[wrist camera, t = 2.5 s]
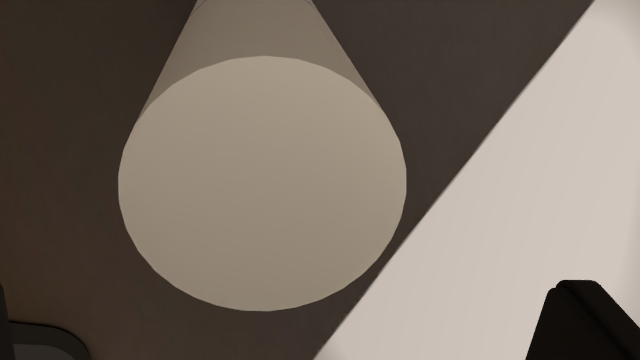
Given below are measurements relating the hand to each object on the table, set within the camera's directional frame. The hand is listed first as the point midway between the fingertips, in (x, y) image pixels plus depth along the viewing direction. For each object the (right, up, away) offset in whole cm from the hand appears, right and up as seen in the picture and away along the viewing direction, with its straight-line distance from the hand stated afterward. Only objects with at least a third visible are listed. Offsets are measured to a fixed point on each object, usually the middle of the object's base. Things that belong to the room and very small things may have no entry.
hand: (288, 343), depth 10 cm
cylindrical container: (-4, +14, +27) cm, 30 cm away
